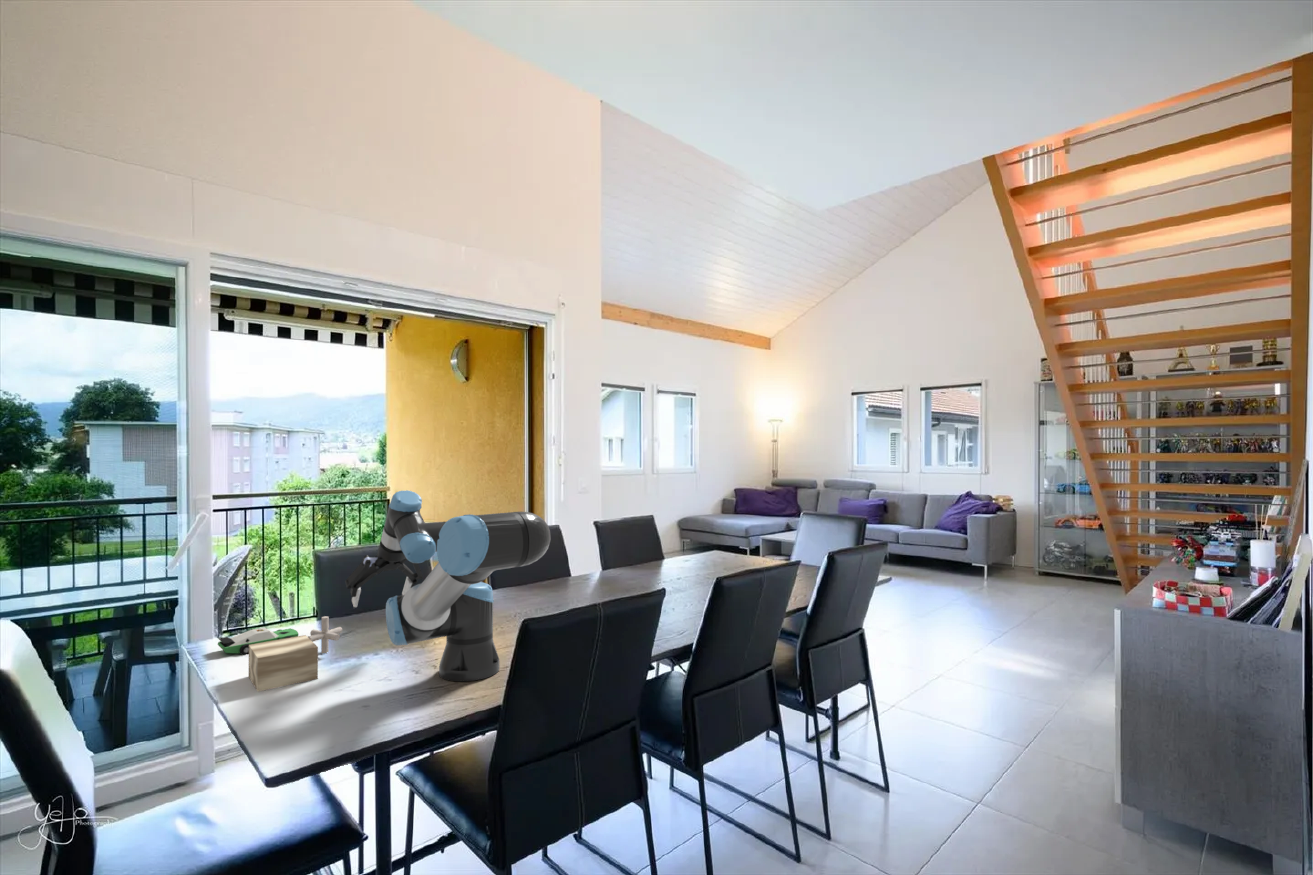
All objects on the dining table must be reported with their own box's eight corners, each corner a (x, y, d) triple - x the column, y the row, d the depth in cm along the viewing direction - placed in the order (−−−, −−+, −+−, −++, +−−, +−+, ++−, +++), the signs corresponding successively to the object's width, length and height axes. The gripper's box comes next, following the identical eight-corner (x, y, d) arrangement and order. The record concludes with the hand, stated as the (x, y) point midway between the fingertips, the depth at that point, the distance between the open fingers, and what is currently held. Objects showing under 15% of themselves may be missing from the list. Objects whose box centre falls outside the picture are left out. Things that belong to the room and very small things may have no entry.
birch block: (317, 678, 162) (317, 646, 162) (257, 691, 154) (257, 658, 154) (305, 664, 172) (305, 634, 172) (248, 676, 163) (248, 644, 163)
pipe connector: (296, 655, 179) (296, 619, 179) (328, 645, 188) (328, 610, 188) (321, 660, 175) (321, 623, 175) (352, 649, 184) (352, 615, 184)
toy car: (301, 644, 190) (302, 627, 190) (224, 659, 177) (225, 641, 177) (291, 636, 198) (291, 620, 198) (216, 651, 184) (216, 633, 184)
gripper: (436, 529, 182) (420, 584, 191) (342, 536, 166) (328, 596, 175) (445, 547, 178) (428, 602, 186) (348, 556, 161) (334, 617, 170)
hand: (379, 600), depth 181 cm, fingers open, 13 cm apart
